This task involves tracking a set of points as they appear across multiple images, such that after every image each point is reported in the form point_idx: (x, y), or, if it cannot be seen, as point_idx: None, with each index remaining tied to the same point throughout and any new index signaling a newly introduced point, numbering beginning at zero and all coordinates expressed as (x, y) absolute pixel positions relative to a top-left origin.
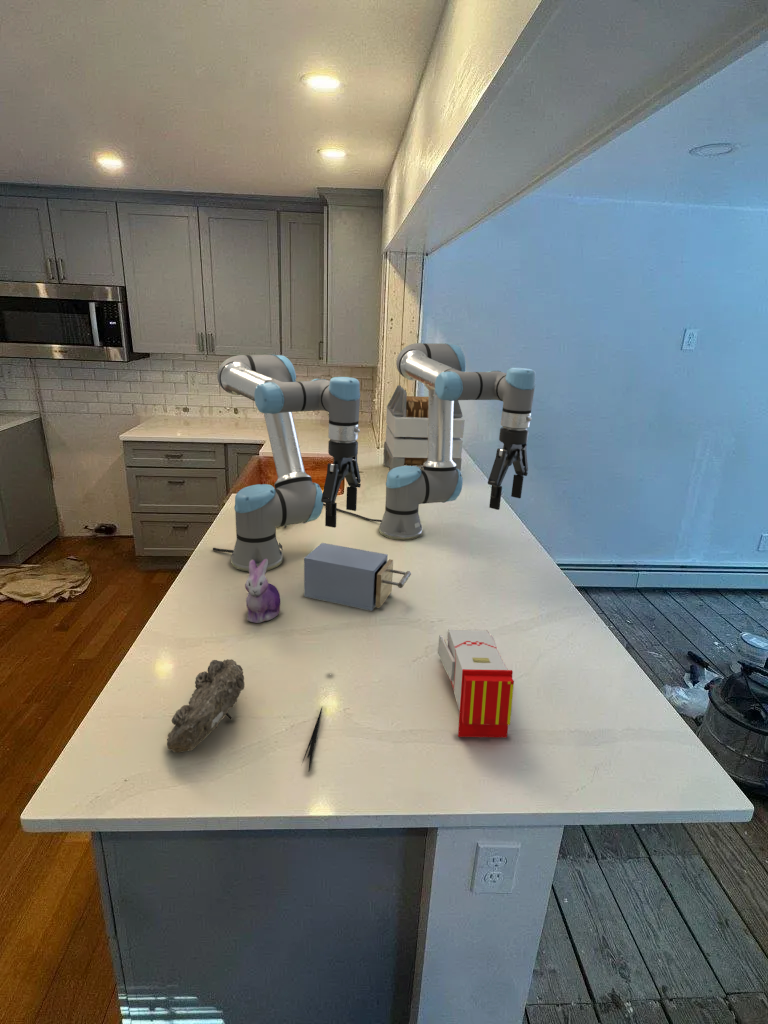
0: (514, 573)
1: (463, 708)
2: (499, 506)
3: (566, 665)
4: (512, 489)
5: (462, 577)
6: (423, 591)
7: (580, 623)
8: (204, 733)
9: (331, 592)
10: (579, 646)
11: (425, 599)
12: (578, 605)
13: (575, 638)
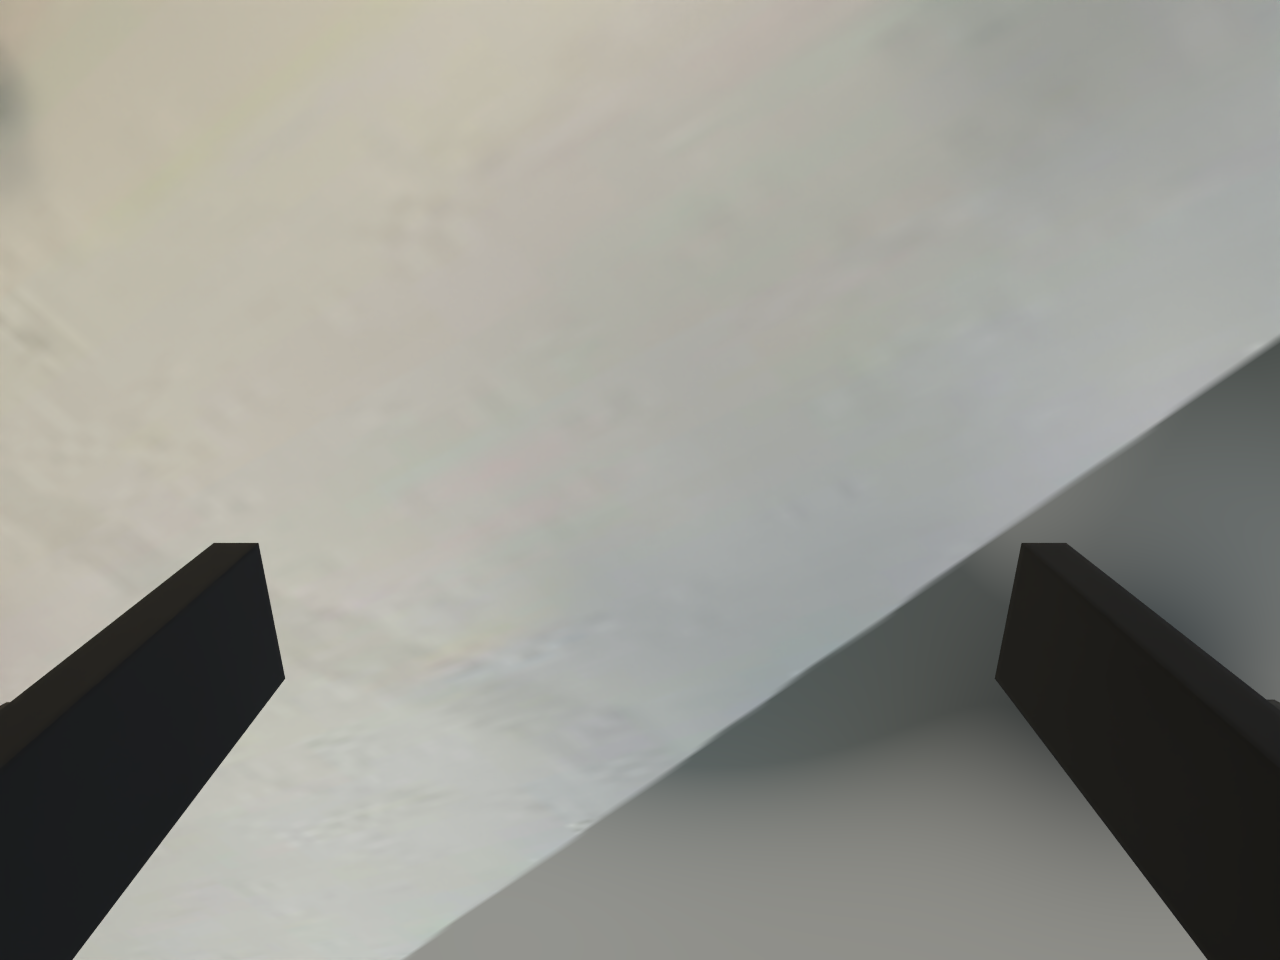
0: (827, 384)
1: None
2: (254, 707)
3: (215, 846)
4: (1094, 617)
5: (552, 153)
6: (193, 58)
7: (536, 796)
8: None
9: None
10: (367, 840)
11: (128, 135)
12: (686, 746)
13: (409, 815)
